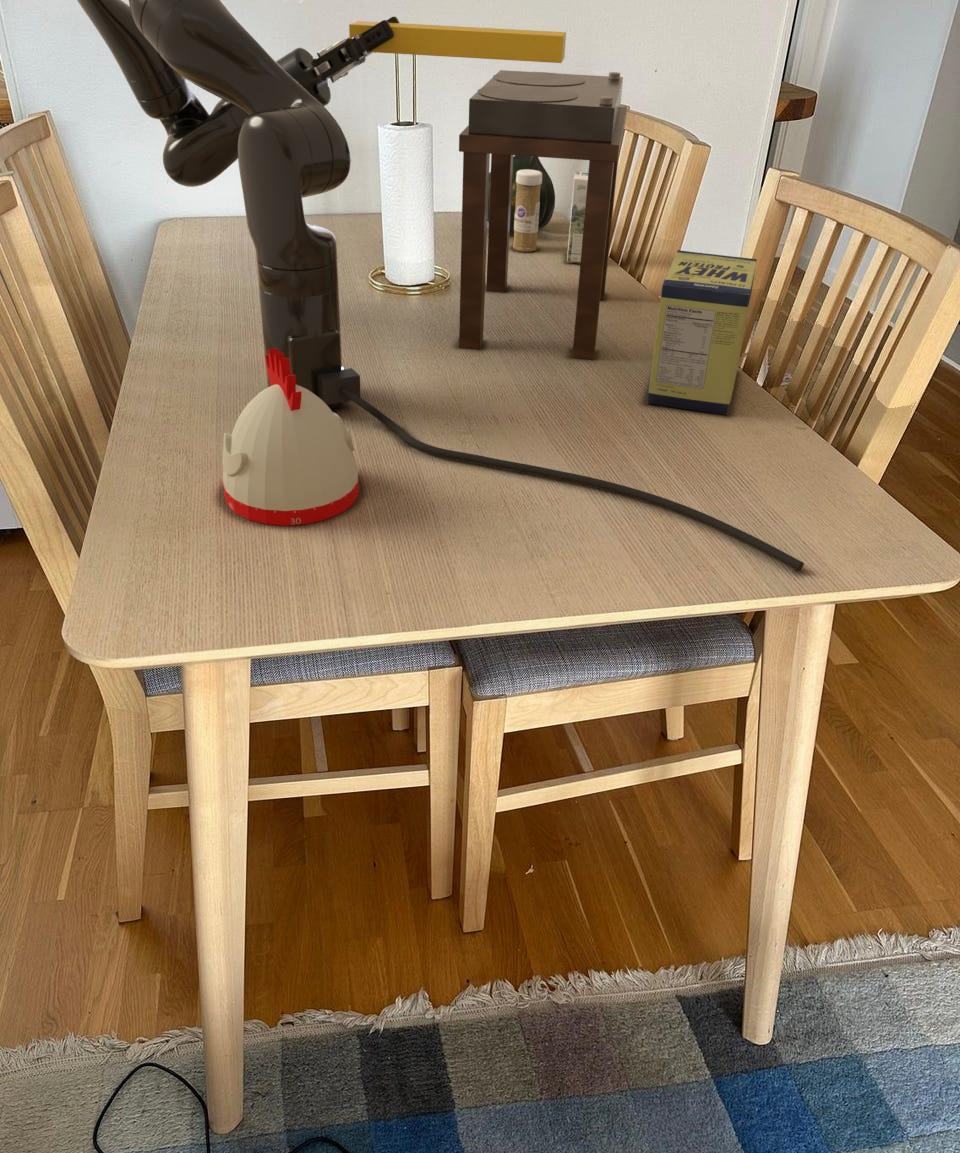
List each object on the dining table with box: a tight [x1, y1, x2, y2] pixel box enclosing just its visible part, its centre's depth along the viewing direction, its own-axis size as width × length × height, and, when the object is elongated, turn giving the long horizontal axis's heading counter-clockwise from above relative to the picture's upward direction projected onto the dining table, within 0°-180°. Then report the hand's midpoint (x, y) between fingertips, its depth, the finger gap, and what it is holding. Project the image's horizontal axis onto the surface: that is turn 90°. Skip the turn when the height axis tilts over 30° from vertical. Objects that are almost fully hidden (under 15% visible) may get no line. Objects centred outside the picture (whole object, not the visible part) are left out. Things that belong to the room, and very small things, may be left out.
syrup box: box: [566, 171, 589, 265], centre depth 176 cm, size 6×6×14 cm
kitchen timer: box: [221, 348, 360, 526], centre depth 102 cm, size 14×14×15 cm
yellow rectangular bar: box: [348, 20, 567, 64], centre depth 128 cm, size 27×4×3 cm, turn 82°
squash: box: [487, 155, 556, 235], centre depth 192 cm, size 14×15×15 cm
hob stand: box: [458, 69, 628, 360], centre depth 144 cm, size 20×30×33 cm, turn 171°
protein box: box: [646, 249, 758, 416], centre depth 129 cm, size 10×16×16 cm
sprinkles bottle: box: [512, 169, 542, 253], centre depth 181 cm, size 5×5×13 cm
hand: (394, 26), depth 128 cm, fingers closed on yellow rectangular bar, 4 cm apart
